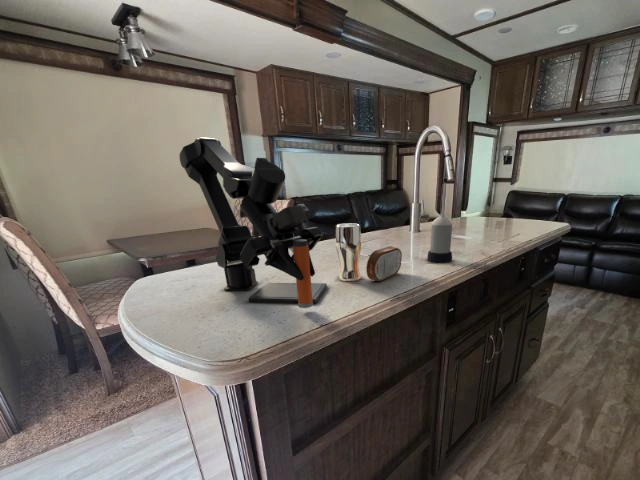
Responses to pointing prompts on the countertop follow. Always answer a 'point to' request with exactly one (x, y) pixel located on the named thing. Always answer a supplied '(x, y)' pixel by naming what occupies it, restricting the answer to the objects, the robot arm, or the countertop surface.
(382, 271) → the tin
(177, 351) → the countertop surface
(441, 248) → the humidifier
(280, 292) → the tablet
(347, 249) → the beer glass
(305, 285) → the orange cylinder
